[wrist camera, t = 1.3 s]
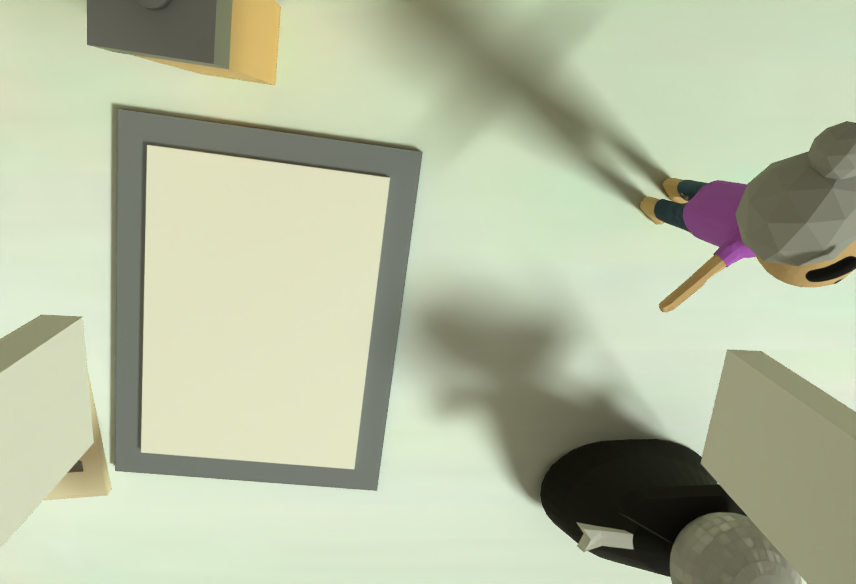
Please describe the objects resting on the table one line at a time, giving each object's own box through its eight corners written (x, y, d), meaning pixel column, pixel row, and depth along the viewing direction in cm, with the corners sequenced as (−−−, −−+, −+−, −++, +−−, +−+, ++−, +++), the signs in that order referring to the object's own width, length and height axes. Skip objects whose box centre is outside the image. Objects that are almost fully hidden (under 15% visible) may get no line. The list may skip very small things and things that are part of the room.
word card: (-10, 367, 33) (-18, 372, 32) (85, 361, 33) (79, 366, 32) (22, 496, 35) (15, 503, 34) (111, 489, 35) (106, 496, 35)
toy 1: (604, 282, 34) (768, 398, 20) (544, 211, 33) (673, 280, 19) (752, 156, 33) (1042, 182, 19) (696, 76, 32) (962, 38, 17)
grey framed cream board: (121, 109, 30) (115, 108, 29) (422, 151, 32) (422, 152, 31) (118, 466, 35) (113, 473, 34) (376, 486, 37) (376, 493, 36)
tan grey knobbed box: (202, -7, 29) (76, -101, 17) (281, 6, 29) (214, -76, 17) (199, 74, 30) (77, 42, 18) (275, 86, 30) (208, 62, 18)
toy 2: (537, 549, 38) (641, 702, 23) (534, 438, 38) (634, 517, 23) (718, 540, 39) (932, 681, 24) (714, 432, 39) (923, 504, 24)
